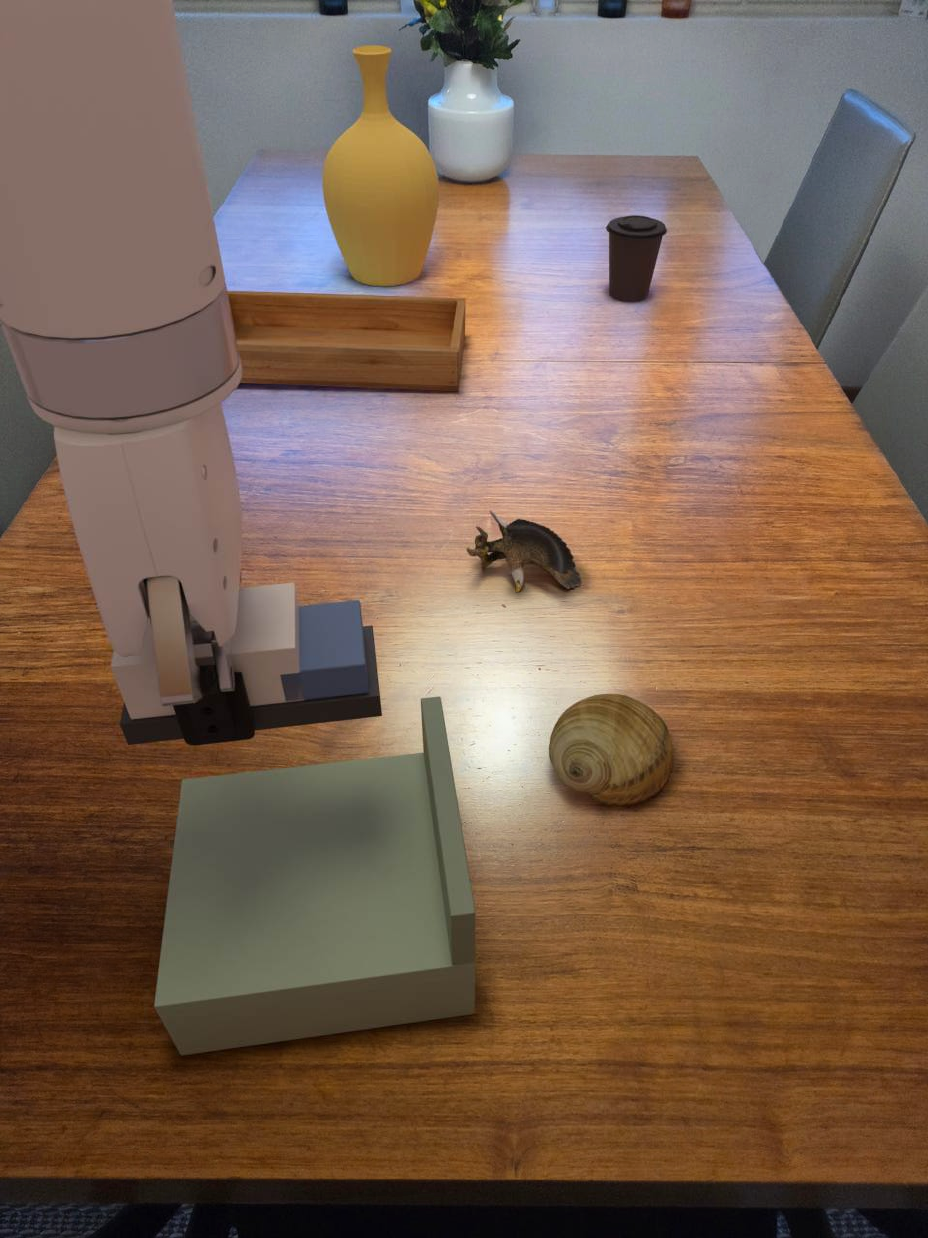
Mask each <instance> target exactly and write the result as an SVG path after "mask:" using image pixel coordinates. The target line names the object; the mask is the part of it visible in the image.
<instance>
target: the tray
mask: <svg viewBox="0 0 928 1238" xmlns="http://www.w3.org/2000/svg"><path fill="white" fill-rule="evenodd" d="M227 292H228V298H229V303H230V308H231V313H232V319H233V324H234V329H235V334H236V340H237V345H238V350H239V355H240V360H241V365H242V378H241V380H240V383H239V384H260V385H261V384H264V385H291V386H292V385H293V386H317V387H318V386H321V387H323V386H324V387H345V388H346V387H347V388H369V389H371V388H372V389H399V390H400V389H402V390H422V391H423V390H425V391H451V392H458V391H459V388H460V380H461V372H462V363H463V356H464V355H463V354H464V347H465V340H466V339H465V337H466V298H464V297H443V296H442V297H439V296H437V297H436V296H409V295H408V296H407V295H406V296H405V295H379V294H378V295H373V294H348V293H347V294H346V293H319V292H318V293H316V292H314V293H313V292H286V291H285V292H282V291H256V290H255V291H254V290H253V291H251V290H227Z"/></svg>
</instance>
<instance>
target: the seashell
mask: <svg viewBox="0 0 928 1238" xmlns="http://www.w3.org/2000/svg"><path fill="white" fill-rule="evenodd" d="M548 744H549V745H548V756H549V757H548V758H549V761H550V764H551V767H552V769H553V771H554V772H555V774H556V775H557V777H558V778H559V779H560V780H561V781H562V782H563V784H565V785H567V786H569V787H570V788H571V789H573V790H575V791H577V792H583V793H588V794H589V795H590V796H591V798H592V800H595V801H596V802H597V801H598V802H599V803H602V804H606V805H611V806H615V805H617V806H621V805H622V806H624V807H627V806H629V805H630V804H639V803H641V802H643V801H646V800H650V799H651V798H652V797H653V796H657V794H658V793H659V792H660V791H662V789H663V787H664V786H666V785H667V782H668V779H669V777H670V774H671V772H672V767H673V762H674V745H673V742H672V738H671V735H670V732H669V728H668V725H667V724H666V723H665V721H664V719H663V718H662V717H661V716H660V715H659V714H658V712H656V711H655V710H654V709H653V708H651V707H649V706H648V705H647V704H645V703H644V702H642V701H640V700H638V699H635V698H633V697H631V696H628V695H626V694H620V693H602V694H594V695H590V696H588V697H585V698H582V699H581V700H579V701H577V702H574V703H573V704H572V705H570V706H569V707H568V708H566V709H565V710H564V711H563V712H562V714H560V716H559V718H558V719H557V721H556V722H555V724H554V726H553V728H552V731H551V734H550V737H549V743H548Z"/></svg>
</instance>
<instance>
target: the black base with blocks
mask: <svg viewBox="0 0 928 1238" xmlns="http://www.w3.org/2000/svg"><path fill="white" fill-rule="evenodd" d="M191 621H196V620H195V619H194V618H193V617H192V616H190V622H191ZM228 643H229V648H230V653H231V659H232V664H233V670H234V672H242V675H243V679H244V683H245V687H246V691H247V695H248V699H249V703H250V707H251V711H252V715H253V719H254V723H255V732H256V731H264V730H272V729H281V728H290V727H291V728H292V727H298V726H299V727H300V726H307V725H317V724H324V723H333V722H334V723H335V722H342V721H343V722H344V721H353V720H359V719H360V720H361V719H370V718H379V717H382V716H383V712H382V703H381V702H382V701H381V691H380V682H379V673H378V663H377V654H376V652H377V651H376V644H375V643H376V642H375V634H374V626H373V625H371V624H370V625H364V623H363V614H362V607H361V601H360V600H359V599H355V600H344V601H335V602H325V603H316V604H315V603H314V604H306V605H300V604H299V597H298V592H297V586H296V583H295V582H286V583H285V582H284V583H275V584H264V585H255V586H254V585H253V586H244V587H243V586H242V587H239V599H238V611H237V621H236V629H235V633H234V635H233V636H232V637H231V638H230V640H229V641H228ZM193 649H194V658H195V663H196V666H204V665H215V663H214V657H213V652H212V647H211V643H207V644H198V645H193ZM109 667H110V671H111V673H112V675H113V677H114V680H115V682H116V685H117V687H118V690H119V692H120V695H121V697H122V700H123V704H122V711H121V716H120V722H119V727H120V729H121V732H122V734H123V736H124V738H125V741H126V743H127V745H128V746H133V745H141V744H150V743H151V744H152V743H159V742H168V741H176V740H184V737H183V734H182V731H181V728H180V725H179V723H178V720H177V717H176V714H175V711H174V708H173V705H171V706H163V705H162V703H161V700H160V694H159V686H158V677H157V669H156V660H155V652H154V644H153V635H152V628H151V623H150V619H148V624H147V628H146V633H145V638H144V643H143V647H142V652H141V655H133V656H128V657H122V656H120V655H119V654H118V653H117V652H116V651H115V650H114V649H113V652H112V658H111V662H110V666H109Z"/></svg>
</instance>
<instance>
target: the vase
mask: <svg viewBox="0 0 928 1238" xmlns="http://www.w3.org/2000/svg"><path fill="white" fill-rule="evenodd" d="M352 54H353V57H354V59H355V62H356V65H357V66H358V69H359V72H360V75H361V79H362V80H361V81H362V88H363V99H362V101H363V102H362V103H363V104H362V111H361V113H360V116H359V118H357V120H356V121H355V122H354V123H353V124H352V125H351V126H350V127H348V129H346V130H345V131H344V132H343V133H341V135H340V136H339V137H337V139H336V140H335V142H334V143H333V144H332V145H331V147H330V148H329V151H328V152H327V155H326V157H325V160H324V163H323V168H322V178H321V179H322V181H321V182H322V193H323V194H322V195H323V201H324V207H325V211H326V215H327V218H328V221H329V225H330V228H331V231H332V235H333V236H334V239H335V241H336V244H337V247H338V249H339V251H340V254H341V256H342V259H343V261H344V263H345V265H346V267H347V270H348V272H349V273H350V276H351V277H352V278H353V280H355V281H356V282H358V283H361V284H363V285H367V286H372V287H396V286H401V285H405V284H408V283H410V282H411V283H412V282H413V281H415V280H417V279H418V278H420V275H421V274H422V271H423V268H424V264H425V261H426V260H427V256H428V252H429V249H430V246H431V241H432V238H433V234H434V230H435V226H436V220H437V216H438V215H437V214H438V208H439V201H440V184H439V176H438V171H437V167H436V164H435V162H434V160H433V158H432V155H431V153H430V151H429V149H428V148H427V146H426V145H425V143H424V142H423V141H422V139H421V138H420V137H419V136H417V134H415V133H414V132H413V131H412V130H411V129H409V128H407V127H406V126H405V125H403V124H402V123H401V122H400V121H398V119H396V118H395V117H394V116H393V115H392V113H391V111H390V108H389V104H388V99H387V89H386V77H387V71H388V67H389V63H390V59H391V55H392V48H390V47H388V46H385V45H377V44H376V45H375V44H374V45H362V46H357V47H354V48H353V49H352Z"/></svg>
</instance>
